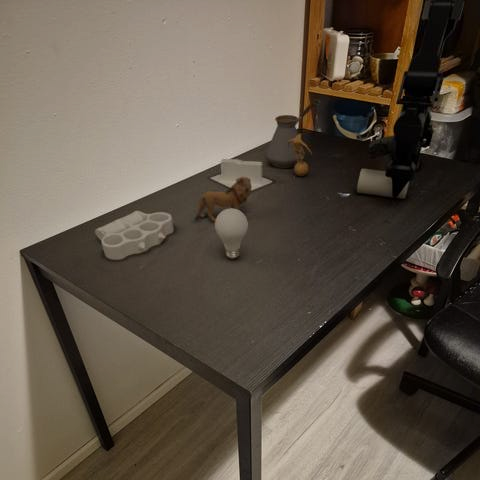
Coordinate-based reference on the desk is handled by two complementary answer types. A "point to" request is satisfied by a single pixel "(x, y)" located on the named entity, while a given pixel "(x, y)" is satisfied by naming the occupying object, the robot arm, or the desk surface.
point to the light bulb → (231, 230)
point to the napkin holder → (241, 173)
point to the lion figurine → (225, 197)
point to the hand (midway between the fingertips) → (395, 191)
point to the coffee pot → (285, 140)
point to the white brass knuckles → (134, 233)
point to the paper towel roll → (377, 184)
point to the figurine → (301, 166)
